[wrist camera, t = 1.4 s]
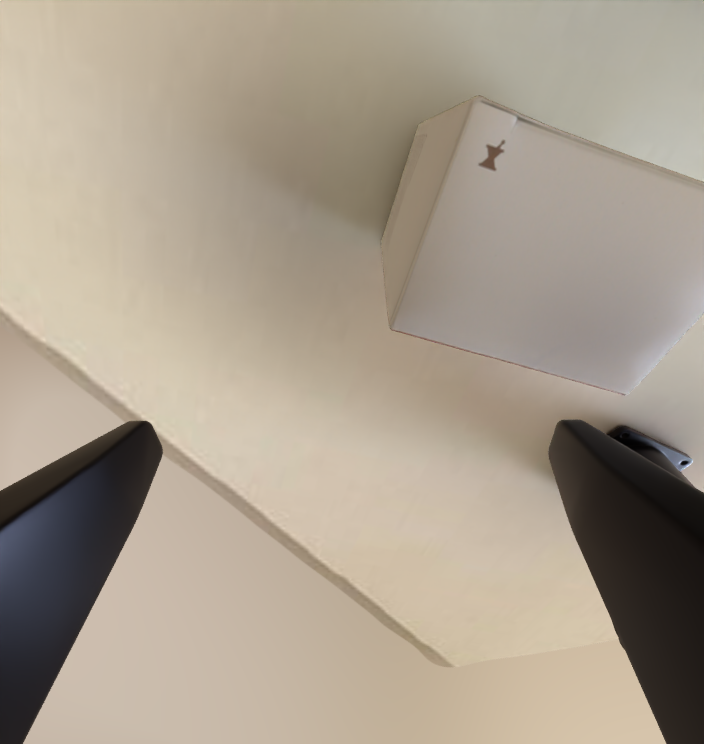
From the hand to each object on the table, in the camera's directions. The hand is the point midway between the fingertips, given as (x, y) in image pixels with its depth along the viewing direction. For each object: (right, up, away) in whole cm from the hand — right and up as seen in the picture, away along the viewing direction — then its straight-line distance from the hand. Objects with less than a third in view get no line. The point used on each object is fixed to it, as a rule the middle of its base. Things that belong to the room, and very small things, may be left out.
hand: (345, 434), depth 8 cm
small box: (+6, +10, +10) cm, 15 cm away
